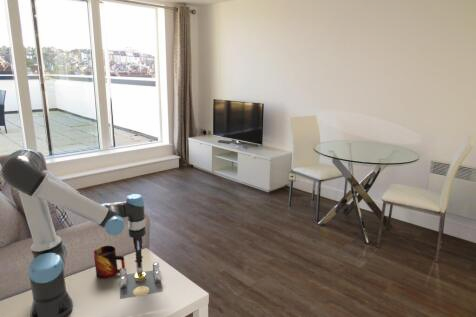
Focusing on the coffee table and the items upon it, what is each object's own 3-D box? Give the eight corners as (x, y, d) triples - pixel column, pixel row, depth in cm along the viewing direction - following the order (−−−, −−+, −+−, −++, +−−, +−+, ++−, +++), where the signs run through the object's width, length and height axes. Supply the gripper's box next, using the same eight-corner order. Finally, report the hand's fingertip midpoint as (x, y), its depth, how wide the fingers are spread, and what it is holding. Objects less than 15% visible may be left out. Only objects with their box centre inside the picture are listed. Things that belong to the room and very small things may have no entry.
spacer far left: (120, 280, 159) (119, 271, 157) (120, 277, 162) (119, 267, 160) (127, 279, 160) (126, 270, 158) (127, 276, 162) (126, 266, 161)
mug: (125, 276, 162) (123, 253, 159) (94, 280, 159) (91, 257, 156) (127, 265, 171) (125, 243, 169) (98, 269, 169) (95, 247, 166)
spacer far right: (153, 275, 163) (152, 266, 162) (152, 272, 166) (152, 262, 165) (159, 274, 164) (159, 265, 163) (159, 271, 167) (158, 261, 166)
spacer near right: (154, 284, 157) (154, 274, 156) (154, 280, 160) (153, 270, 158) (161, 282, 158) (160, 273, 156) (160, 279, 160) (160, 269, 159)
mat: (120, 300, 146) (119, 299, 146) (120, 276, 163) (120, 275, 163) (162, 292, 151) (162, 291, 151) (158, 270, 168) (158, 269, 168)
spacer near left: (120, 289, 152) (119, 280, 151) (120, 285, 155) (119, 276, 154) (127, 288, 153) (126, 278, 152) (127, 284, 156) (126, 275, 155)
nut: (136, 283, 157) (136, 278, 156) (133, 278, 161) (133, 274, 160) (147, 280, 160) (147, 275, 159) (144, 275, 163) (144, 270, 163)
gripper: (146, 232, 153) (148, 278, 159) (144, 220, 165) (146, 263, 171) (128, 234, 151) (131, 281, 157) (128, 222, 163) (131, 266, 169)
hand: (139, 272), depth 164 cm, fingers closed
